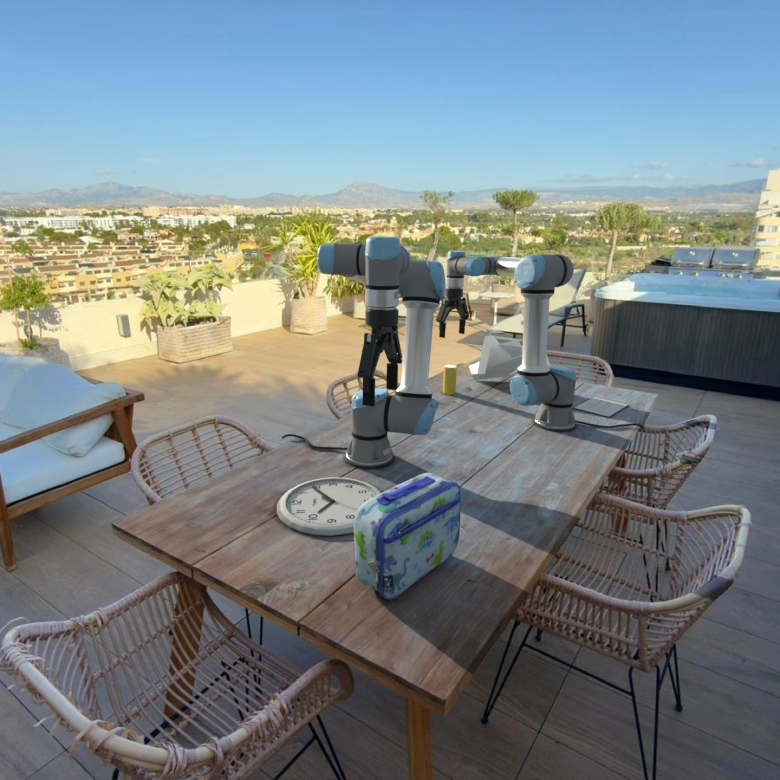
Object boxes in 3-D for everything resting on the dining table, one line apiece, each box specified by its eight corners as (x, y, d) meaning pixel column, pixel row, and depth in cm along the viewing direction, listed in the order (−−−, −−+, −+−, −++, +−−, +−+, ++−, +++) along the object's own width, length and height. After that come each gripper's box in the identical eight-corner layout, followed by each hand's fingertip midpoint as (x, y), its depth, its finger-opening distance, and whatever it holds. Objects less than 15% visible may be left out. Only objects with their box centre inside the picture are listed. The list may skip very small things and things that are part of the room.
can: (447, 390, 246) (448, 364, 242) (457, 392, 242) (459, 366, 239) (440, 392, 242) (441, 366, 238) (450, 395, 238) (452, 368, 234)
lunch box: (382, 612, 103) (384, 519, 97) (347, 586, 110) (346, 498, 104) (464, 557, 121) (469, 475, 114) (429, 538, 128) (432, 460, 122)
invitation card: (608, 416, 214) (573, 407, 224) (608, 416, 214) (573, 408, 224) (628, 404, 229) (594, 396, 238) (628, 405, 229) (594, 397, 238)
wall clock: (392, 527, 129) (268, 531, 127) (391, 533, 130) (269, 537, 127) (383, 473, 158) (282, 475, 155) (383, 478, 158) (282, 480, 156)
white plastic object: (490, 422, 261) (470, 399, 236) (471, 348, 283) (451, 320, 258) (563, 398, 249) (550, 371, 224) (537, 323, 271) (522, 291, 246)
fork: (422, 410, 217) (423, 406, 216) (433, 399, 231) (433, 395, 231) (428, 411, 216) (429, 407, 216) (438, 400, 230) (439, 396, 230)
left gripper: (374, 316, 105) (373, 415, 112) (416, 302, 127) (414, 385, 134) (341, 313, 108) (342, 410, 115) (388, 299, 130) (387, 381, 137)
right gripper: (465, 284, 239) (462, 330, 245) (429, 288, 222) (427, 337, 228) (478, 286, 233) (475, 333, 240) (442, 290, 217) (440, 340, 223)
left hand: (380, 397), depth 124 cm, fingers open, 13 cm apart
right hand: (452, 335), depth 234 cm, fingers open, 13 cm apart
